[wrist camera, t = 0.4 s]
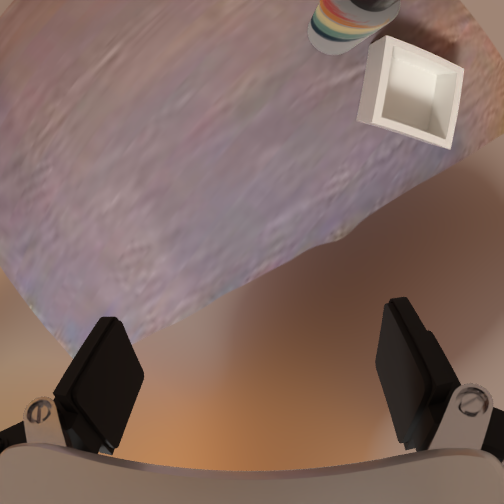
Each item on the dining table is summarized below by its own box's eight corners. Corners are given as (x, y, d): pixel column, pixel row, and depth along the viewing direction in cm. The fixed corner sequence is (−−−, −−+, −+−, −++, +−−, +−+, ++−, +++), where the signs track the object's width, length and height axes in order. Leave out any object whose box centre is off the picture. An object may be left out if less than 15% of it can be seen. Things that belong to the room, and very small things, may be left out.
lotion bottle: (335, 7, 28) (392, -69, 10) (362, 44, 30) (444, -5, 12) (297, 26, 29) (325, -50, 11) (324, 63, 31) (382, 19, 13)
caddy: (369, 45, 30) (386, 35, 24) (439, 72, 30) (464, 68, 25) (356, 120, 34) (371, 122, 29) (427, 143, 34) (450, 149, 29)
